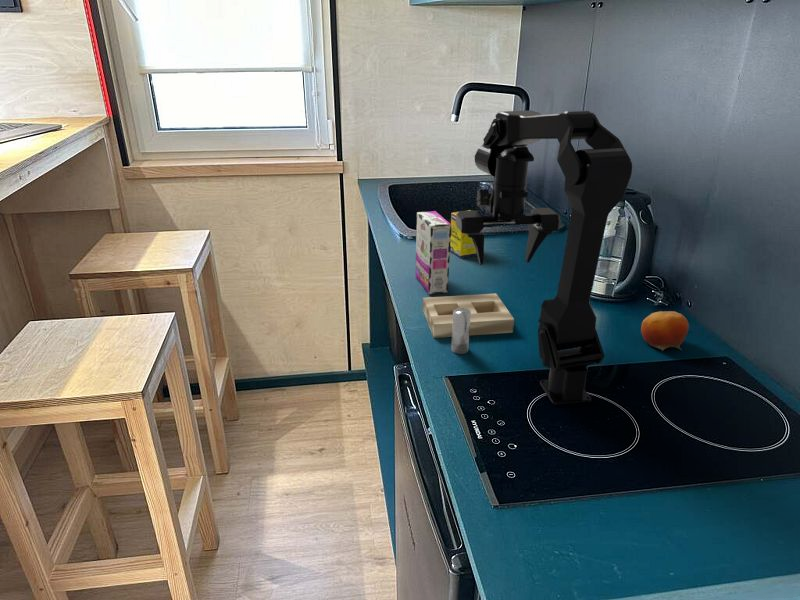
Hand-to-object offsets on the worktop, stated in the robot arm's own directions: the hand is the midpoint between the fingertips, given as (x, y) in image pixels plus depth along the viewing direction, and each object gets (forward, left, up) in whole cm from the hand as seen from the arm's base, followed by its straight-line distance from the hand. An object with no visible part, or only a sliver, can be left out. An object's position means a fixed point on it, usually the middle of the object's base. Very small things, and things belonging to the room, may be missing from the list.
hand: (504, 263), depth 109 cm
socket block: (+2, +6, -14) cm, 15 cm away
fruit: (-12, -29, -14) cm, 34 cm away
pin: (-9, +10, -14) cm, 19 cm away
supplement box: (+40, -3, -14) cm, 43 cm away
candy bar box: (+21, +10, -14) cm, 27 cm away
